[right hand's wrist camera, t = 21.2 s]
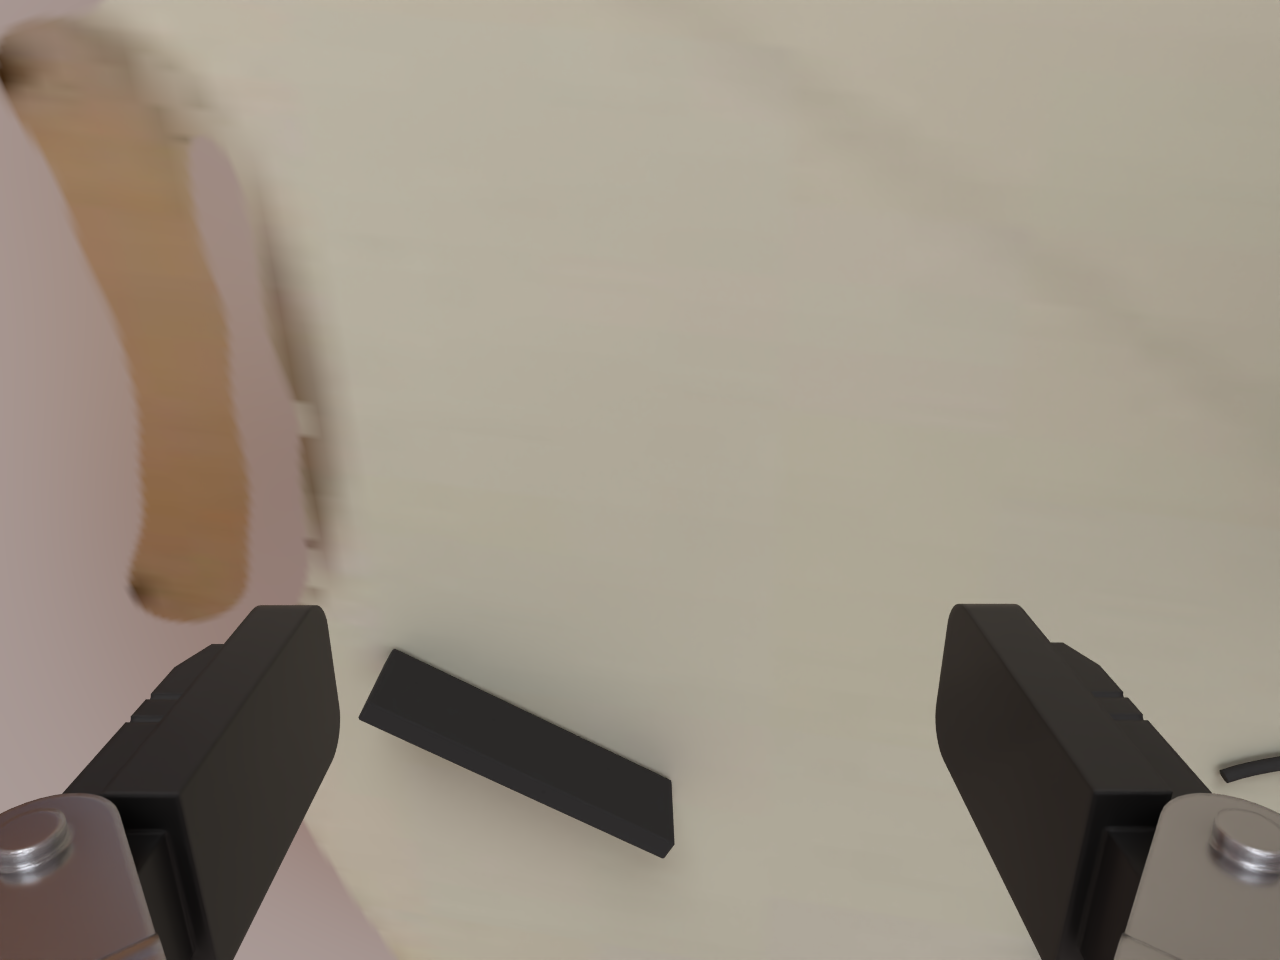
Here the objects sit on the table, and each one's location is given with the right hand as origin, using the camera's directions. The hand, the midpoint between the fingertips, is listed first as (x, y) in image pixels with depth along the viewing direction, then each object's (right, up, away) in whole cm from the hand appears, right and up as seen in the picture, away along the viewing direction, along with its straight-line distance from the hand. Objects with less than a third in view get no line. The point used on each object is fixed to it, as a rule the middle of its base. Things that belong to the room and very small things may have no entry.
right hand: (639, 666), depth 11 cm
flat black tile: (-6, -11, +38) cm, 40 cm away
